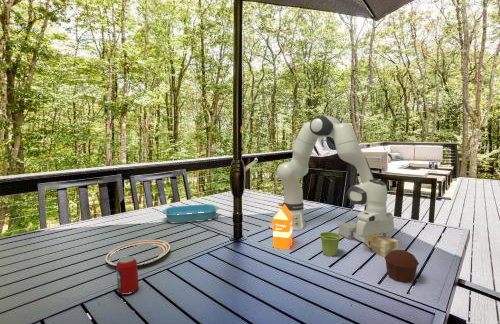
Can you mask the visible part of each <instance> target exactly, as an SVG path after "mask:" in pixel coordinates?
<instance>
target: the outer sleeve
mask: <svg viewBox="0 0 500 324" xmlns="http://www.w3.org/2000/svg"><path fill="white" fill-rule="evenodd" d="M356 228H357V224H354V223H351V222H343V223H338V230H337V231H338V233H337V234H339V235H340V236H341V238H344V239H347V240H348V241H350V240H351V241H352V240H355V238H353V237H351V231H354V230H356Z"/></svg>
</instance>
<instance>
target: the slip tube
mask: <svg viewBox="0 0 500 324" xmlns="http://www.w3.org/2000/svg"><path fill="white" fill-rule="evenodd" d="M351 237H353V238H355V239H356V240H357V241H360V242H362V243H364V244H365V240H364V238H363V237H361V236H359V235H358V234H357V232H356V230H354V231H351ZM377 237H382V235H381V234H377V235H372V236H369V238H368V240H369V241H370V245H367V247H368V248H369V249H371V250H373V238H377ZM355 239H354V240H355Z"/></svg>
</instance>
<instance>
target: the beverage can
mask: <svg viewBox="0 0 500 324" xmlns="http://www.w3.org/2000/svg"><path fill="white" fill-rule="evenodd" d="M138 269H139V268H138V266H137V261H136V259H135V257H134V256H124V257H122V258H120V259H119V260H118V263H117V265H116V278H117V279H116V283H117V292H118V291H119V292H120V293H129V292H133V291H135V290H136V289H137V288H138V289H139V272H138V271H139V270H138ZM138 289H137V290H138ZM137 290H136V291H137ZM136 291H135V292H136ZM119 292H118V293H119ZM120 293H119V294H120Z"/></svg>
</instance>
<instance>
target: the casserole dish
mask: <svg viewBox="0 0 500 324" xmlns="http://www.w3.org/2000/svg"><path fill="white" fill-rule="evenodd" d="M219 209H220V207H219V206H218V205H215V204H212V203H211V204H210V203H207V204H206V203H205V204H191V205H178V206H169V207H167V208H166V209H163V210H162V212H161V213H163V214H165V215H166V218H167V220H168V222H169V223H171V222H185V221H196V220H208V219H212V220H214V219H215V217H216V214H217V211H218V210H219ZM198 212H204V213H198ZM187 213H192V214H187ZM177 214H179V215H177ZM213 218H214V219H213Z"/></svg>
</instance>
